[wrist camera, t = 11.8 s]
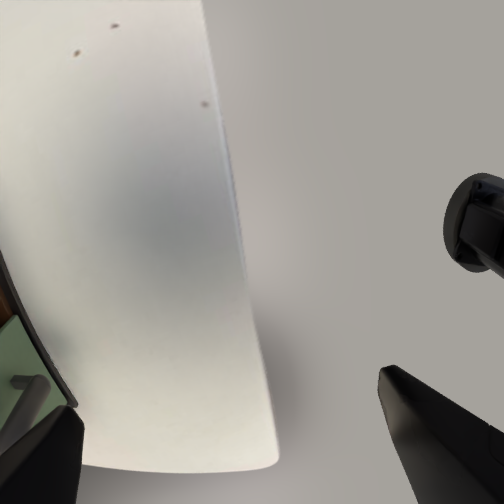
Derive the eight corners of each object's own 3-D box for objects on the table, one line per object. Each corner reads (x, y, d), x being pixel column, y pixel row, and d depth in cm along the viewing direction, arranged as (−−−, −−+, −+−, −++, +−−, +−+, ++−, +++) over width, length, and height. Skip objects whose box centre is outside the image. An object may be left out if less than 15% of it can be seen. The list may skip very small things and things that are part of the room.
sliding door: (51, 310, 19) (-43, 444, 8) (102, 402, 23) (59, 530, 11) (12, 314, 19) (-77, 428, 8) (63, 401, 23) (14, 514, 11)
